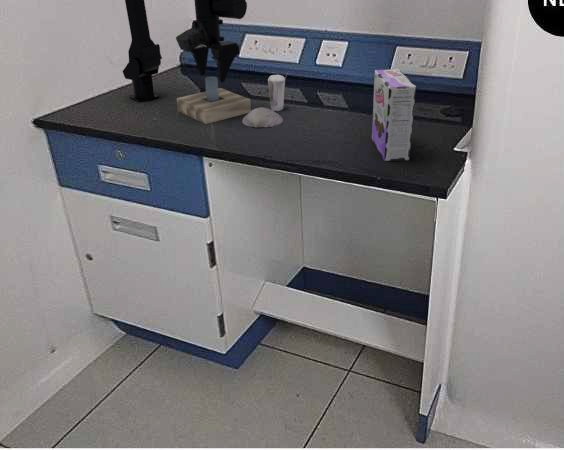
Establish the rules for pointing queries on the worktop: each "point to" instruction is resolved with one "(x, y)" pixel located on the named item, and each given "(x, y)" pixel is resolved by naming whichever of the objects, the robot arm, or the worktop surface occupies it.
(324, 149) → the worktop surface
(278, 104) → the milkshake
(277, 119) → the seashell
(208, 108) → the socket block
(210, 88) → the dowel
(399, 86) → the candy box
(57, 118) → the worktop surface
